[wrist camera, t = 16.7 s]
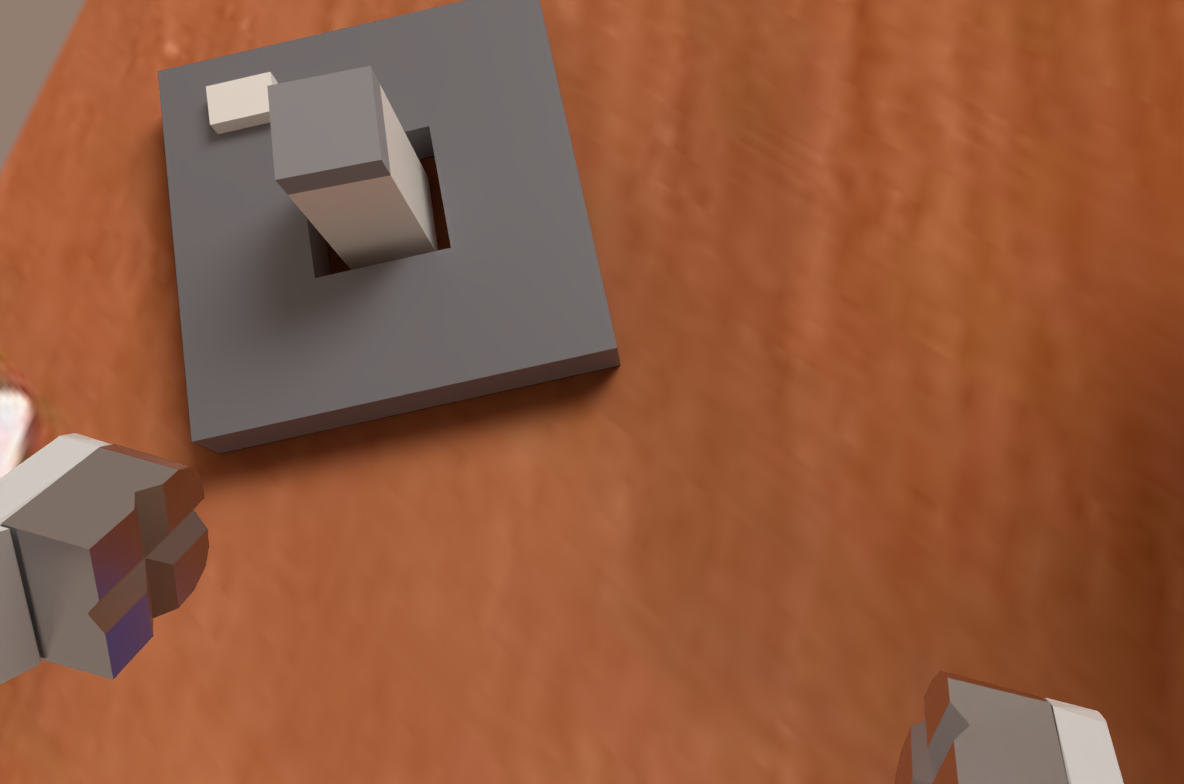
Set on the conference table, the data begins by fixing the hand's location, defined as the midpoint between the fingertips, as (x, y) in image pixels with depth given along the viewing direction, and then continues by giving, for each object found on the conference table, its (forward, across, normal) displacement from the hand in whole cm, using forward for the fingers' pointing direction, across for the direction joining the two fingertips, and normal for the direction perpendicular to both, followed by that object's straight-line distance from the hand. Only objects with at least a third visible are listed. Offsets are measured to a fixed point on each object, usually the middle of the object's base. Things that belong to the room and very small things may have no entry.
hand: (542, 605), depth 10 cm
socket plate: (+31, +16, +10) cm, 36 cm away
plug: (+31, +16, +10) cm, 37 cm away
